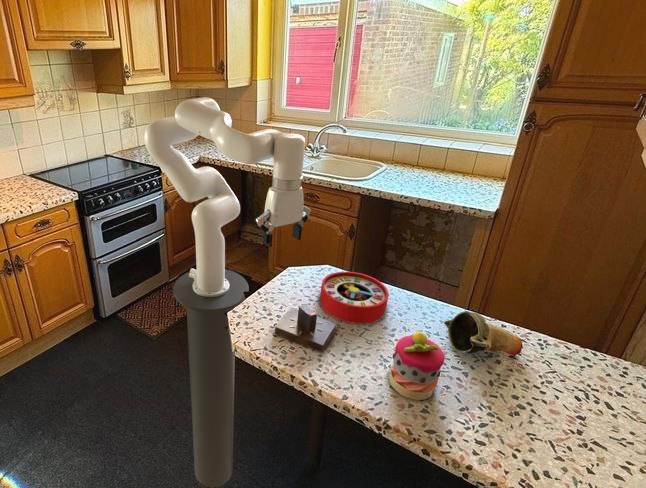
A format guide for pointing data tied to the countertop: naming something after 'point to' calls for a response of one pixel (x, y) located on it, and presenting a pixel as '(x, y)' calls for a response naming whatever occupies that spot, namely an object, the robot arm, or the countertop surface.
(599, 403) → the countertop surface
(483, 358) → the countertop surface
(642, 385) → the countertop surface
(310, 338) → the panel
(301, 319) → the dial
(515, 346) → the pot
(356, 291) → the toy clock
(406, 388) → the cake
